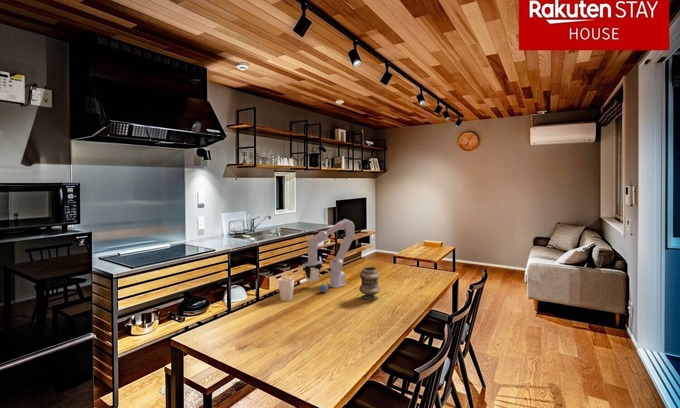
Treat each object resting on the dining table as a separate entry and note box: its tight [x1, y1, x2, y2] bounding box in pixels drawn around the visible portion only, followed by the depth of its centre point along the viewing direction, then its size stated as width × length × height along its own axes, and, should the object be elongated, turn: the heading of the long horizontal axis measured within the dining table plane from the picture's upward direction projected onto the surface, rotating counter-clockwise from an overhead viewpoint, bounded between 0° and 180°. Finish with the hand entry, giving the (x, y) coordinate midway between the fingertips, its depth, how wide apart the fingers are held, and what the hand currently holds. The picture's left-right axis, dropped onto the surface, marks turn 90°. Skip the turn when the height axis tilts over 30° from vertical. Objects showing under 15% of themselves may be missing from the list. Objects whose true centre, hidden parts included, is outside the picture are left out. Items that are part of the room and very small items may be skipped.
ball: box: [319, 284, 329, 294], centre depth 215 cm, size 5×5×5 cm
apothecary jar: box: [358, 266, 381, 302], centre depth 204 cm, size 12×12×18 cm
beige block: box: [305, 266, 320, 283], centre depth 224 cm, size 6×6×7 cm
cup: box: [278, 276, 295, 302], centre depth 203 cm, size 9×9×12 cm
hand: (312, 276), depth 224 cm, fingers closed on beige block, 6 cm apart
